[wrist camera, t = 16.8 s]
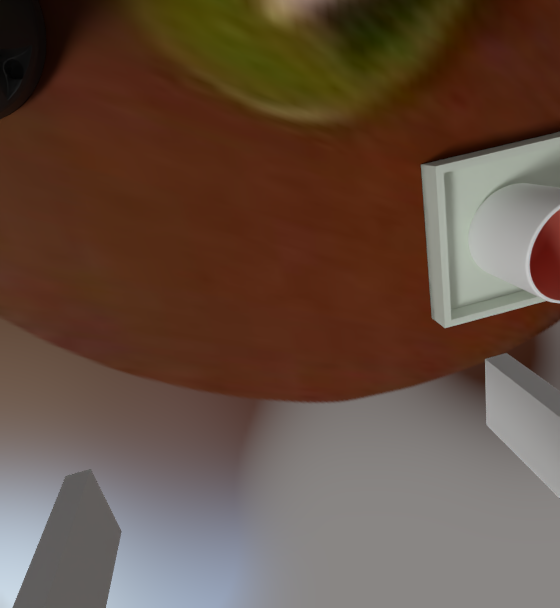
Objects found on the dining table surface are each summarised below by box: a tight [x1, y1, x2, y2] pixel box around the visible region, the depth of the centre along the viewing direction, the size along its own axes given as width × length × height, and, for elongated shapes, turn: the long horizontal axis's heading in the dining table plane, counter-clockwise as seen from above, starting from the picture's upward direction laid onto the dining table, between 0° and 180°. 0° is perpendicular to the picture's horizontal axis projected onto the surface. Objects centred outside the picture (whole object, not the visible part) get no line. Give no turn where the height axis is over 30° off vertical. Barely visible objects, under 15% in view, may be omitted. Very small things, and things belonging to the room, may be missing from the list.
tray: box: [421, 132, 560, 328], centre depth 46 cm, size 18×18×3 cm
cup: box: [468, 183, 560, 303], centre depth 42 cm, size 10×10×10 cm
